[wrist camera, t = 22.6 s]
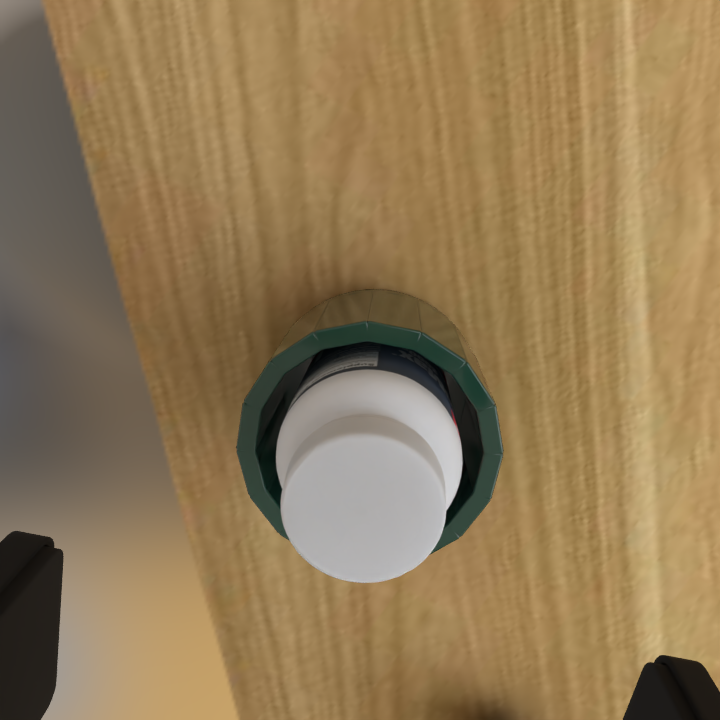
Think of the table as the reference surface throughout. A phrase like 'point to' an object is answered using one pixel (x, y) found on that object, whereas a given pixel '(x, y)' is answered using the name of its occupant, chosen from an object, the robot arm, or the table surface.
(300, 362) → the cup
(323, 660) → the table surface
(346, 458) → the pill bottle
